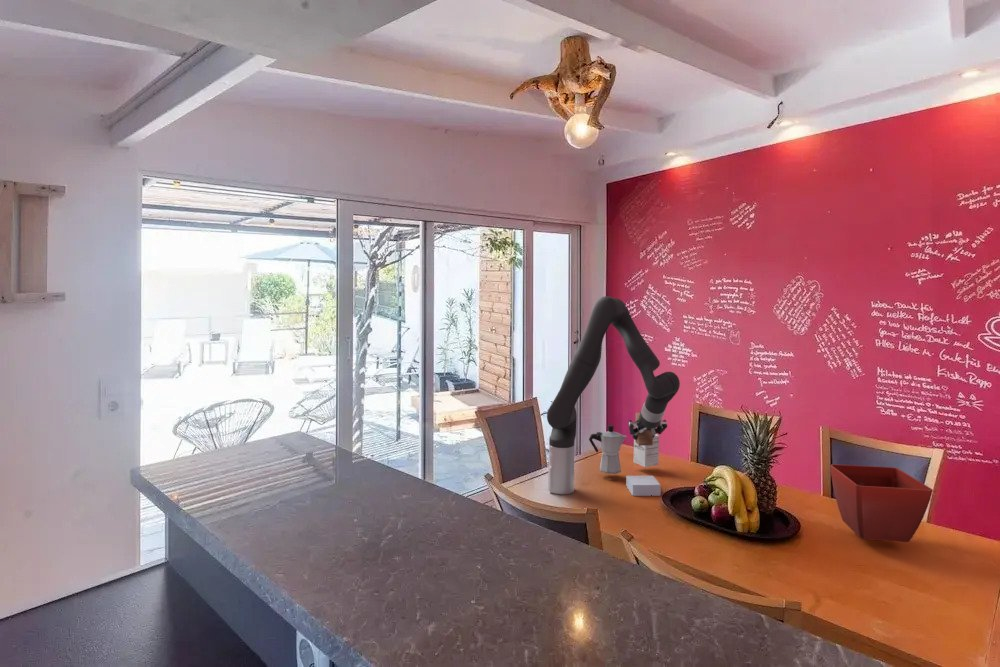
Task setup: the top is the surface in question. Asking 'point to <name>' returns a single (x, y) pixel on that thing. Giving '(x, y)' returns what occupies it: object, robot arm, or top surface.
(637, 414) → the walnut block
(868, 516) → the plant pot
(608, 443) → the coffee maker
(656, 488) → the stand
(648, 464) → the supplement box
